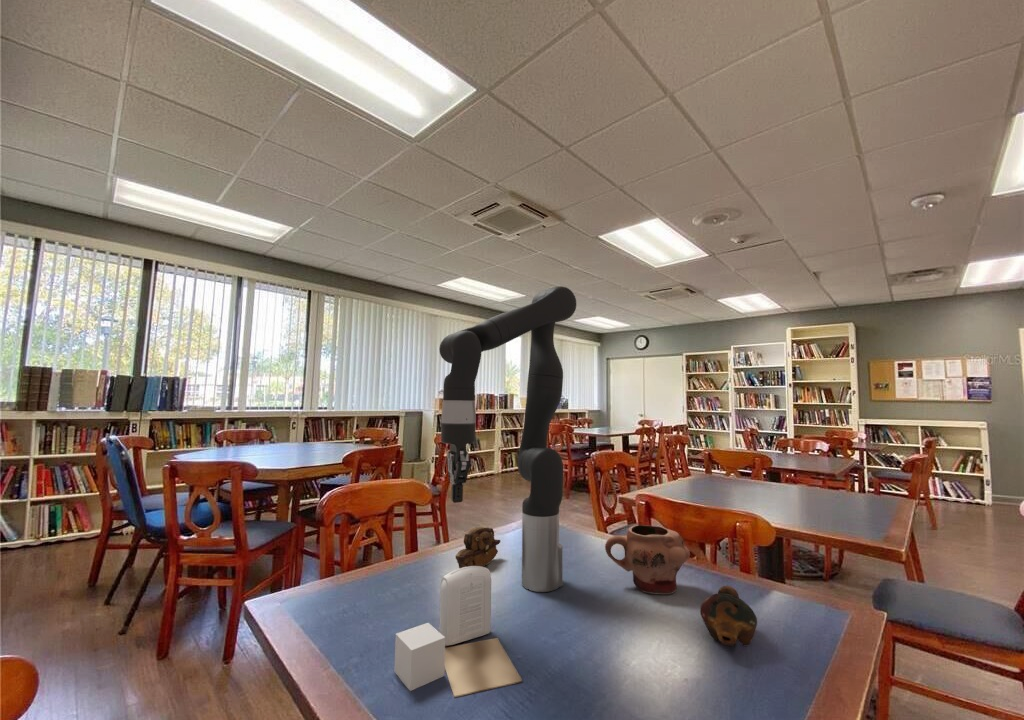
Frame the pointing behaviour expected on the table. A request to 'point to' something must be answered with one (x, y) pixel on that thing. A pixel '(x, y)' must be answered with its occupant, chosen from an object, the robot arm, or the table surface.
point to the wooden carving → (478, 548)
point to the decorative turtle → (728, 617)
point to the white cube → (419, 655)
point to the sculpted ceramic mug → (651, 557)
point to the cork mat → (479, 667)
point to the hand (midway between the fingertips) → (456, 501)
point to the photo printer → (465, 604)
